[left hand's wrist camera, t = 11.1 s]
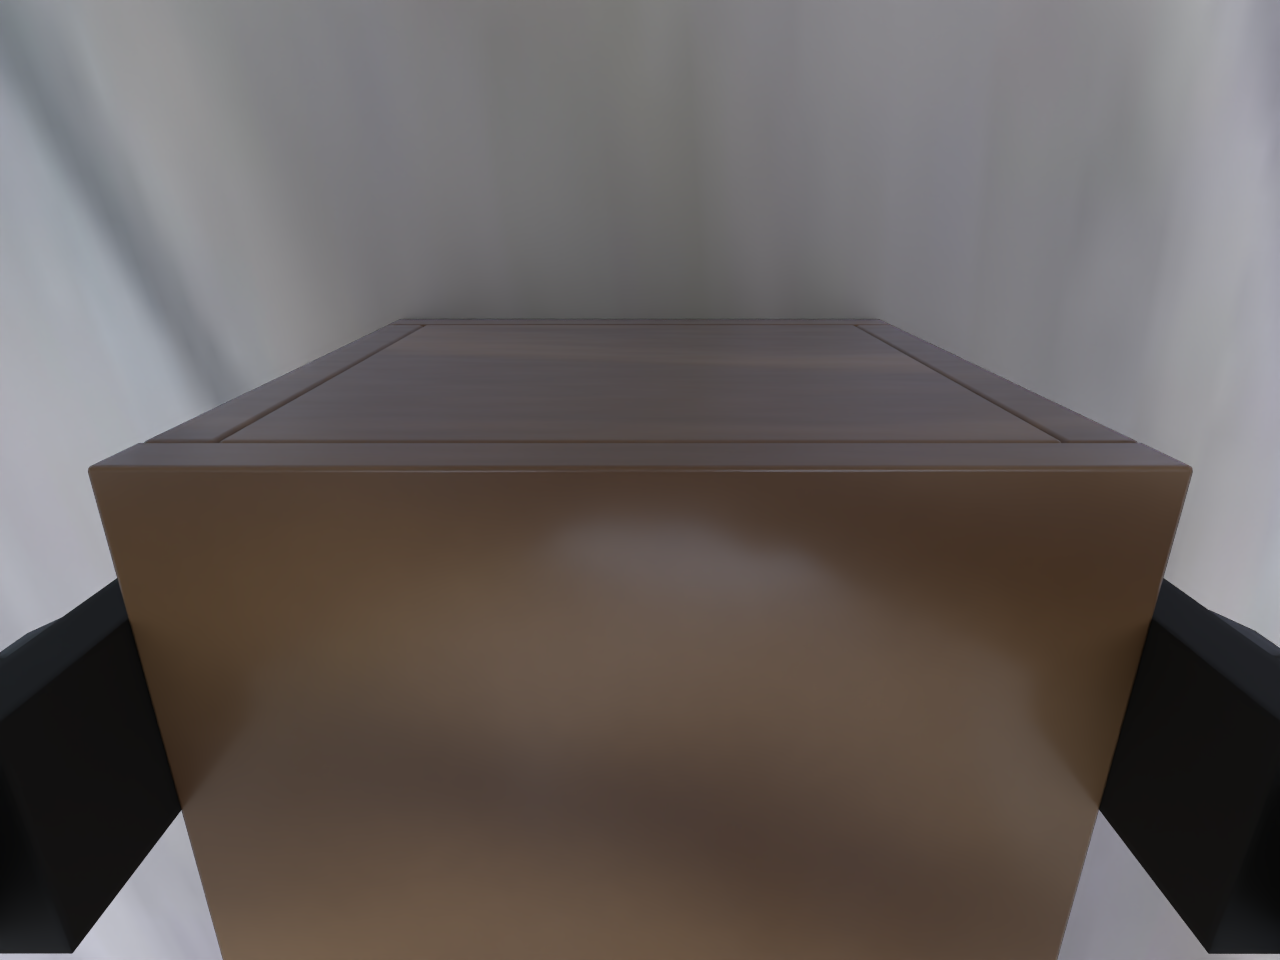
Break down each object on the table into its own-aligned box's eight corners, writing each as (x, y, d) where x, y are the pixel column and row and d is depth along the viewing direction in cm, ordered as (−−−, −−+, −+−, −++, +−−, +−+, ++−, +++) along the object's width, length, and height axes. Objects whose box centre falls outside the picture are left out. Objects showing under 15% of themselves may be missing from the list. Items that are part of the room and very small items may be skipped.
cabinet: (808, 959, 25) (921, 1455, 15) (469, 960, 25) (358, 1457, 15) (881, 318, 17) (1197, 466, 8) (397, 318, 17) (83, 467, 7)
